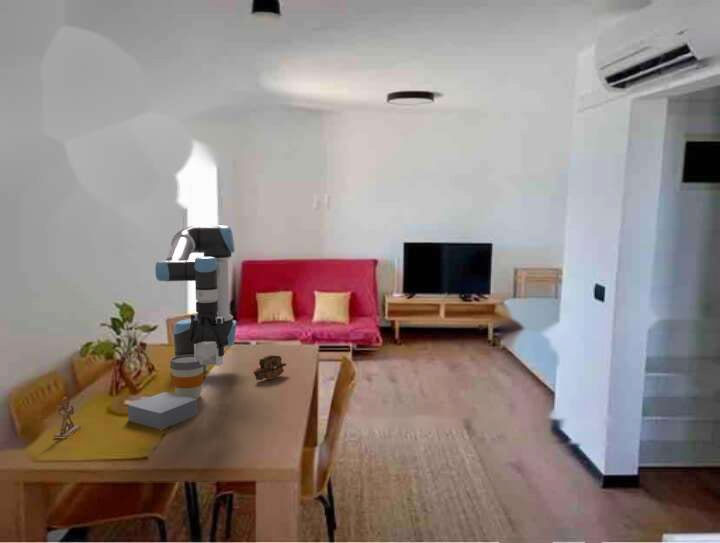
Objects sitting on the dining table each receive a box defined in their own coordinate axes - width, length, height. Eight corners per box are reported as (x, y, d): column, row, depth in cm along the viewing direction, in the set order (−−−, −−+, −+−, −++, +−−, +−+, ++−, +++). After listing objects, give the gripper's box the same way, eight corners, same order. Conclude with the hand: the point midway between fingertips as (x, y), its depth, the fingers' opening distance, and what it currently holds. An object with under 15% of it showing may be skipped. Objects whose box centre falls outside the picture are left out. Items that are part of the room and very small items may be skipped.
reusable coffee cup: (211, 396, 220) (210, 358, 219) (182, 404, 211) (180, 365, 210) (194, 389, 229) (193, 352, 227) (165, 396, 220) (163, 358, 218)
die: (208, 370, 198) (224, 346, 200) (187, 357, 198) (203, 333, 201) (213, 372, 206) (228, 349, 208) (193, 359, 206) (208, 336, 209)
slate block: (128, 421, 196) (127, 404, 195) (165, 407, 209) (165, 391, 209) (160, 431, 188) (160, 413, 187) (197, 415, 201) (196, 399, 201)
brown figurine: (69, 427, 189) (67, 392, 188) (80, 428, 189) (78, 393, 187) (53, 438, 180) (51, 401, 179) (65, 439, 180) (63, 402, 179)
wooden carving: (260, 384, 235) (259, 361, 234) (252, 382, 238) (252, 359, 237) (288, 375, 248) (288, 352, 247) (280, 373, 251) (280, 351, 250)
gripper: (176, 299, 203) (178, 361, 205) (223, 305, 192) (225, 369, 195) (191, 296, 209) (193, 356, 212) (238, 301, 199) (239, 364, 201)
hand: (208, 362), depth 203 cm, fingers closed on die, 9 cm apart
